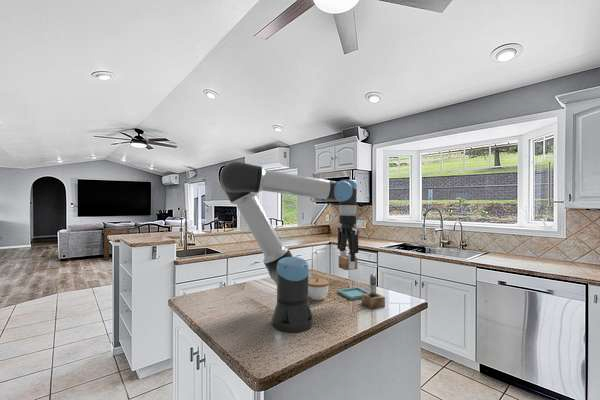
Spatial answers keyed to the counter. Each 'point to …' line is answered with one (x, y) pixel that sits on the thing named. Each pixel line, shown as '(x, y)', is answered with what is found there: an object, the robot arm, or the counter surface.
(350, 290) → the tray
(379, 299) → the block
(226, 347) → the counter surface
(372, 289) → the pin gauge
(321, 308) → the counter surface
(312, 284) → the lidded jar
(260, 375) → the counter surface
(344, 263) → the block
